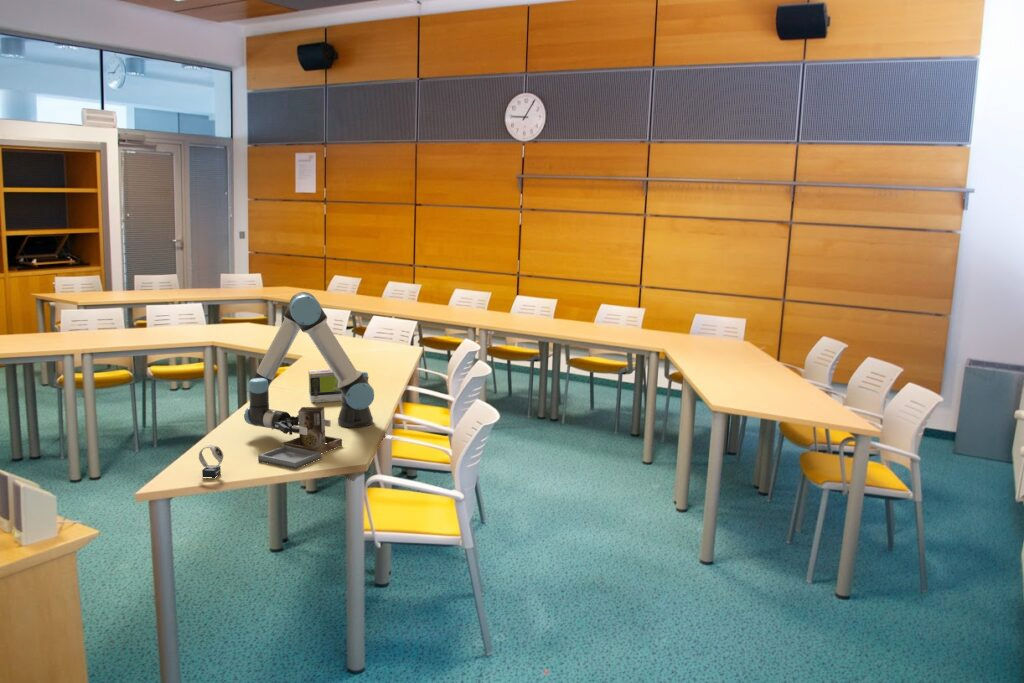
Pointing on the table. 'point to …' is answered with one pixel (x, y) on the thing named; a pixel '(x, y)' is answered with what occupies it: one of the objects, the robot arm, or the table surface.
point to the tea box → (323, 386)
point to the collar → (330, 445)
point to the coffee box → (312, 426)
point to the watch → (211, 469)
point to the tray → (289, 457)
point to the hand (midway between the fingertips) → (318, 427)
